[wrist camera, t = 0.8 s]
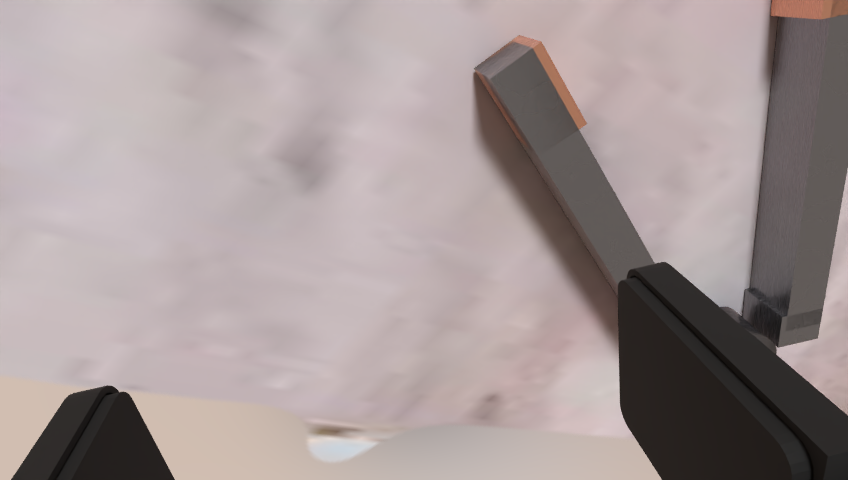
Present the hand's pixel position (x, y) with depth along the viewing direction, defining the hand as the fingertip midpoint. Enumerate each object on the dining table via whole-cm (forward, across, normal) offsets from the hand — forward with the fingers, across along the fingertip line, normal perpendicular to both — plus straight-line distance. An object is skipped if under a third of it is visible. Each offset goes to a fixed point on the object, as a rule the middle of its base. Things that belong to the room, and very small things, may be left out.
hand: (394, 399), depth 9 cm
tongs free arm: (+18, -13, +7) cm, 23 cm away
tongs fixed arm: (+18, -21, +5) cm, 28 cm away
